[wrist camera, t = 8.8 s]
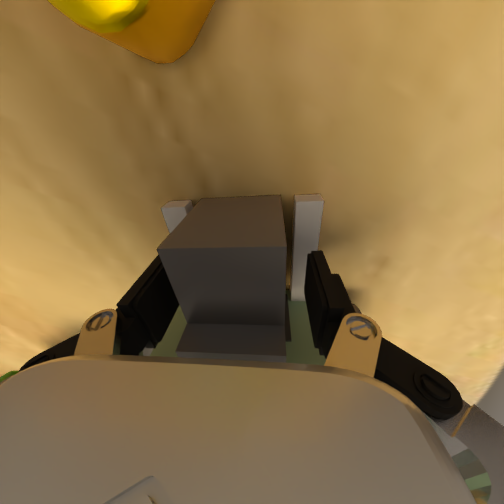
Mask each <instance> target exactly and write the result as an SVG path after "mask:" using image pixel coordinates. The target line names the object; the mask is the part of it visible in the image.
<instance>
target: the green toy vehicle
mask: <svg viewBox="0 0 504 504" xmlns="http://www.w3.org/2000/svg"><path fill="white" fill-rule="evenodd" d="M323 205H324V200H323V198H322V197H321V195H320V194H307V195H294V209H293V231H292V253H291V276H290V290H286V291H285V341H286V363H298V364H313V365H323V366H324V364H325V362H326V359H325V357H324V356H323V355H320V354H319V349H318V348H315V347H314V343H313V338H312V332H311V327H310V322H309V316H308V311H307V306H306V300H305V295H304V284H305V274H306V264H307V254H308V253H311V251H317V250H318V243H319V235H320V228H321V220H322V213H323ZM192 209H193V204H192V200H182V201H169V202H168V203H166V204H165V205H164V206H163V207H161V210H162V213H163V216H164V219H165V222H166V224H167V227H168V230H169V233H171V232H172V231H173V230H174V229H175V228H176V226H177V225H178V224H179V223H180V222H181V221H182V220H183V219H184V218H185V216H186V215H187V214H188V213H189V212H190V211H191V210H192ZM352 305H353V307H354V310H355V312H356V313H360V314H362V313H361V312H360V310H359V309H358V307H357V306H356V305H354V304H352ZM186 325H187V322H186V319H185V317H184V314H183V312H182V310H181V307H180V305H179V307H178V309H177V311H176V313H175V315H174V317H173V319H172V321H171V323H170V325H169V327H168V329H167V331H166V333H165V335H164V337H163V339H162V341H161V342H158V344H157V346H156V348H155V349H154V348H144V350H143V356H159V357H178V356H177V354H176V352H175V351H176V348H177V346H178V344H179V341H180V339H181V336H182V334H183V332H184V329H185V327H186Z"/></svg>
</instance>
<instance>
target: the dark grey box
mask: <svg viewBox="0 0 504 504" xmlns="http://www.w3.org/2000/svg"><path fill="white" fill-rule="evenodd" d="M157 251H158V254H159V256H160V259H161V261H162V264H163V266H164V268H165V271H166V273H167V276H168V278H169V281H170V283H171V285H172V288H173V290H174V293H175V295H176V297H177V300H178V302H179V305H180V307H181V310H182V312H183V314H184V317H185V319H186V322H187V325H186V327H185V329H184V332H183V334H182V336H181V339H180V341H179V344H178V346H177V348H176V351H175V352H176V354H177V356H178V357H183V358H204V359H226V360H245V361H265V362H283V363H286V341H285V291H286V257H287V244H286V236H285V228H284V219H283V211H282V203H281V195H265V196H244V197H222V198H202V199H201V200H200V201H199V202H198V203H197V204H196V205H195V206H194V208H193V209H192V210H191V211H190V212H189V213H188V214H187V215H186V216H185V218H184V219H183V220H182V221H181V222H180V223H179V224H178V225H177V226H176V228H175V229H174V230H173V231H172V232H171V233H170V234H169V235H168V236H167V238H166V239H165V240H164V241H163V242H162V243H161V244H160V245H159V247H158V248H157Z"/></svg>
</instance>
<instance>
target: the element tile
mask: <svg viewBox="0 0 504 504" xmlns="http://www.w3.org/2000/svg"><path fill="white" fill-rule="evenodd" d="M48 1H49V2H50V3H51V4H52V5H53V6H54V7H55V8H56V9H58V10H59V11H60V12H62V13H63V14H64V15H66V16H67V17H68V18H69V19H71V20H72V21H73V22H75V23H76V24H77V25H79V26H81V27H83V28H85V29H87V30H89V31H91V32H93V33H95V34H97V35H99V36H101V37H103V38H105V39H107V40H109V41H111V42H113V43H115V44H117V45H119V46H121V47H124V48H126V49H128V50H130V51H132V52H134V53H136V54H138V55H140V56H142V57H144V58H147V59H149V60H151V61H153V62H156V63H158V64H160V63H173V62H174V61H176V60H177V59H178V58H180V57H181V56H182V55H184V54H185V53H186V52H187V51H188V50H189V49H190V48H191V47H192V45H193V44H194V42H195V40H196V38H197V36H198V34H199V32H200V30H201V28H202V26H203V24H204V22H205V20H206V18H207V16H208V14H209V12H210V10H211V8H212V6H213V4H214V2H215V0H48Z"/></svg>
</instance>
